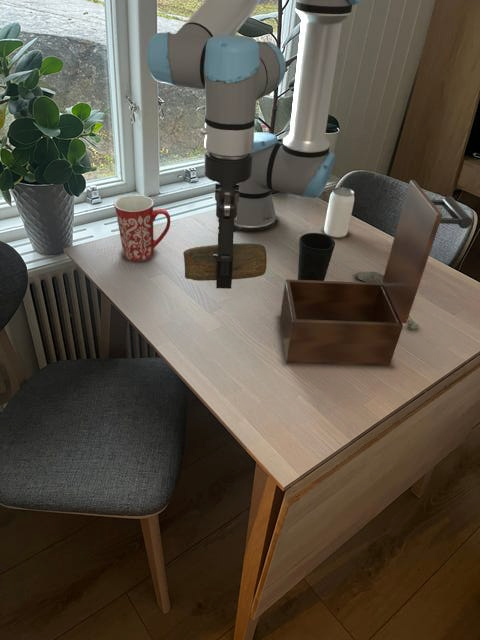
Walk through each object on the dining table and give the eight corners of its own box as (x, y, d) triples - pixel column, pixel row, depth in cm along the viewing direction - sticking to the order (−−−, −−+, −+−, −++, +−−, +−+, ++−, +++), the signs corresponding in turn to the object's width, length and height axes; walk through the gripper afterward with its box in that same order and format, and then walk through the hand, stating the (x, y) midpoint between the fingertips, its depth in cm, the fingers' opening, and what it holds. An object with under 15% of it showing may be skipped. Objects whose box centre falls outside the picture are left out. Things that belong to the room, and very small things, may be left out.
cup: (324, 299, 106) (334, 252, 99) (290, 294, 107) (297, 246, 99) (326, 281, 112) (336, 235, 105) (294, 276, 113) (301, 230, 105)
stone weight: (258, 263, 93) (260, 233, 89) (267, 283, 87) (271, 251, 83) (181, 269, 90) (180, 238, 85) (186, 290, 84) (185, 258, 80)
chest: (286, 363, 89) (292, 321, 83) (279, 318, 99) (285, 279, 93) (389, 366, 89) (403, 325, 83) (372, 321, 100) (383, 283, 94)
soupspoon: (376, 275, 116) (351, 279, 115) (378, 263, 114) (353, 267, 113) (427, 327, 99) (399, 332, 98) (431, 314, 97) (402, 319, 96)
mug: (116, 263, 113) (110, 210, 105) (122, 244, 120) (117, 193, 112) (169, 264, 114) (167, 212, 106) (173, 246, 121) (171, 195, 113)
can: (323, 226, 135) (330, 185, 127) (346, 228, 134) (355, 188, 127) (323, 236, 130) (331, 195, 122) (347, 239, 129) (356, 197, 122)
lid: (437, 214, 71) (485, 216, 71) (410, 179, 81) (451, 181, 82) (401, 323, 83) (442, 324, 84) (382, 281, 94) (418, 282, 94)
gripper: (206, 130, 82) (206, 247, 96) (201, 174, 66) (201, 306, 80) (250, 132, 82) (243, 249, 96) (255, 177, 67) (245, 308, 81)
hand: (224, 275), depth 88 cm, fingers closed on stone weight, 7 cm apart
